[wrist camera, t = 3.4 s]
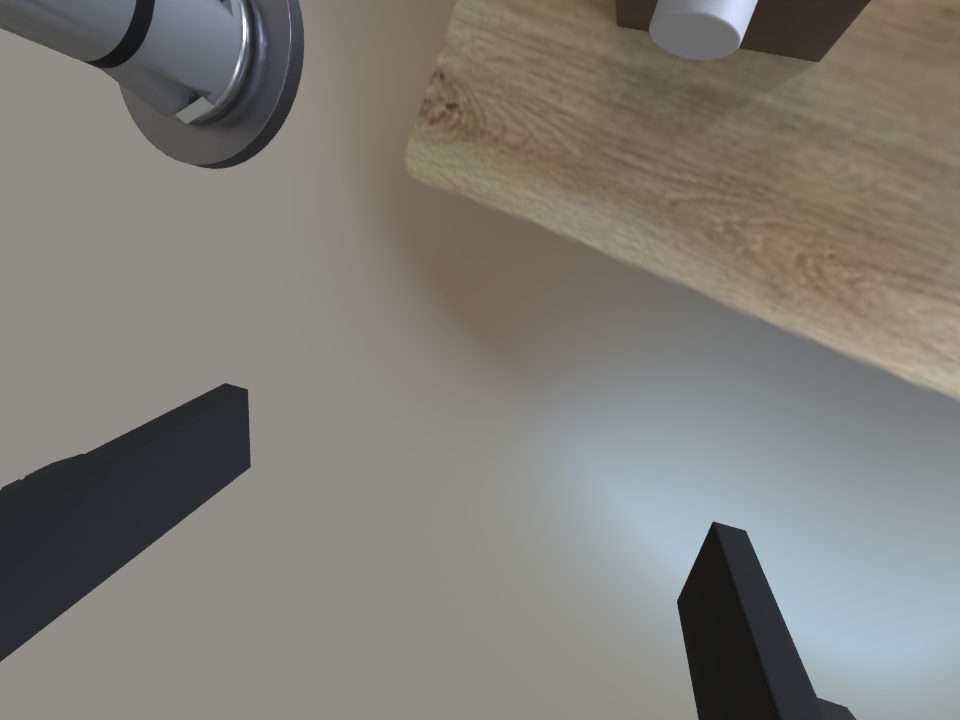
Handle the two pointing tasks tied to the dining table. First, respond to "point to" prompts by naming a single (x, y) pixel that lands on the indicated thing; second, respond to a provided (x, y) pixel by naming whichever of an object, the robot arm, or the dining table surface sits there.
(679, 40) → the drawer
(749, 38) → the cabinet
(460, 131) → the dining table surface
